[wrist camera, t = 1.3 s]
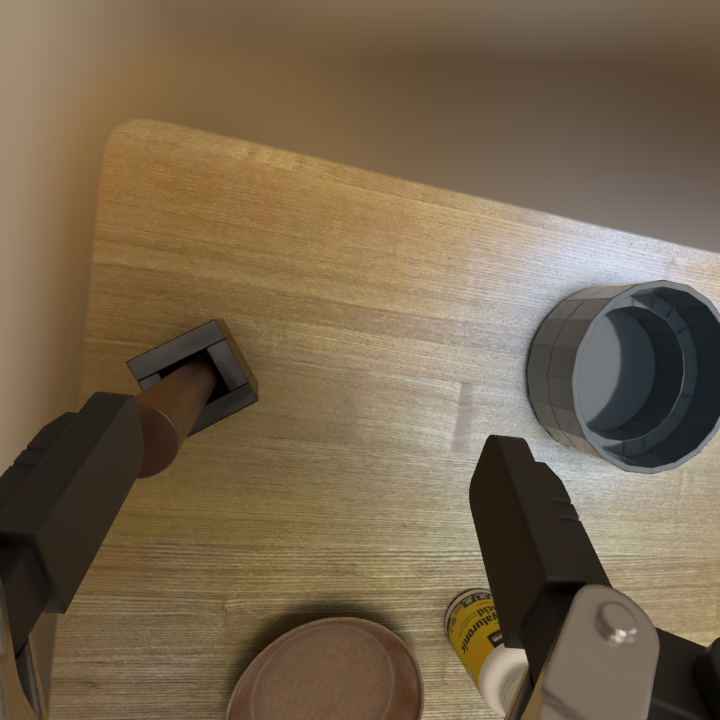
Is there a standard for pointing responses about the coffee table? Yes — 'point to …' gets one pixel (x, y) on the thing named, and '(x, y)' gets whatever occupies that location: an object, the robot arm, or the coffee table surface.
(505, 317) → the coffee table surface
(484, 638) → the supplement bottle
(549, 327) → the bowl
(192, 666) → the coffee table surface
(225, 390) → the stand
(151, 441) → the stirring stick
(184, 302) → the coffee table surface
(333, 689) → the saucer
